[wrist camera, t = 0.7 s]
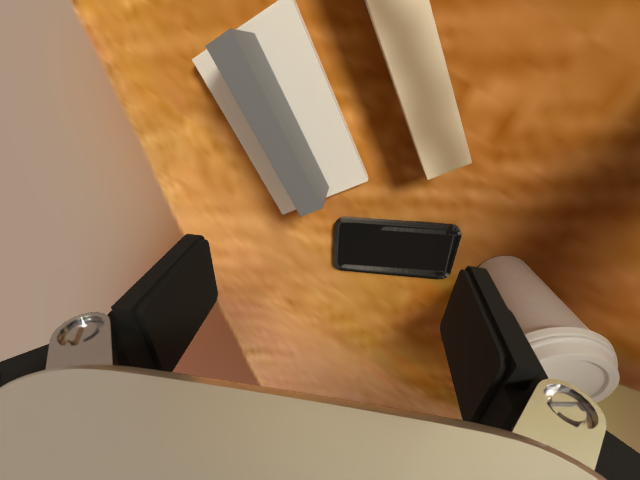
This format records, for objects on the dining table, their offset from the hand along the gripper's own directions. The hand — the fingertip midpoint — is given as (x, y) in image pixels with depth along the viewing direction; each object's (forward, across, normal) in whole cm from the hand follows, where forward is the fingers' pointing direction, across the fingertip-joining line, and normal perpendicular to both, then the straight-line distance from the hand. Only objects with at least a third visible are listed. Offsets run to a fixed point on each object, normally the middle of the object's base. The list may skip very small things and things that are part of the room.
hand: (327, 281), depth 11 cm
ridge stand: (+24, +7, -1) cm, 26 cm away
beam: (+25, -4, -8) cm, 26 cm away
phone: (+25, -6, +13) cm, 29 cm away
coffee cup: (+25, -20, +16) cm, 36 cm away
